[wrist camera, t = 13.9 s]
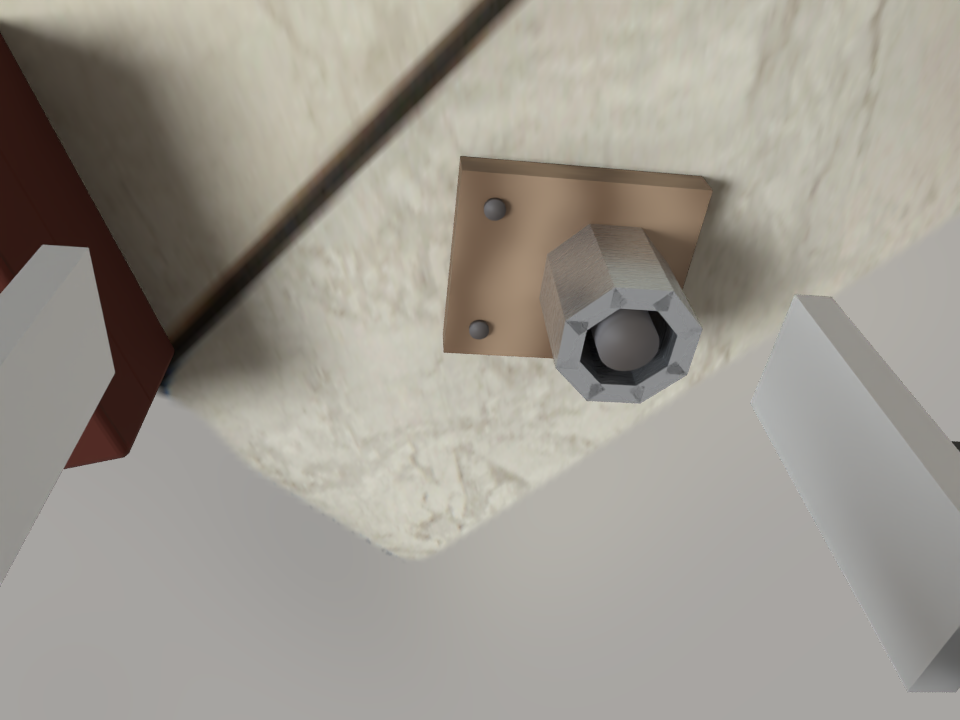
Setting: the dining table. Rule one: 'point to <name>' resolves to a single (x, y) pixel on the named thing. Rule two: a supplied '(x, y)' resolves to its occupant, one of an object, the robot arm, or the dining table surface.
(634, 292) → the hub
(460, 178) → the shaft block
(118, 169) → the dining table surface
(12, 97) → the box
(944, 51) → the dining table surface
